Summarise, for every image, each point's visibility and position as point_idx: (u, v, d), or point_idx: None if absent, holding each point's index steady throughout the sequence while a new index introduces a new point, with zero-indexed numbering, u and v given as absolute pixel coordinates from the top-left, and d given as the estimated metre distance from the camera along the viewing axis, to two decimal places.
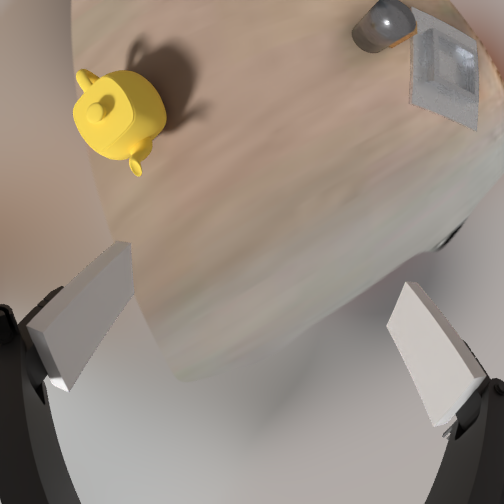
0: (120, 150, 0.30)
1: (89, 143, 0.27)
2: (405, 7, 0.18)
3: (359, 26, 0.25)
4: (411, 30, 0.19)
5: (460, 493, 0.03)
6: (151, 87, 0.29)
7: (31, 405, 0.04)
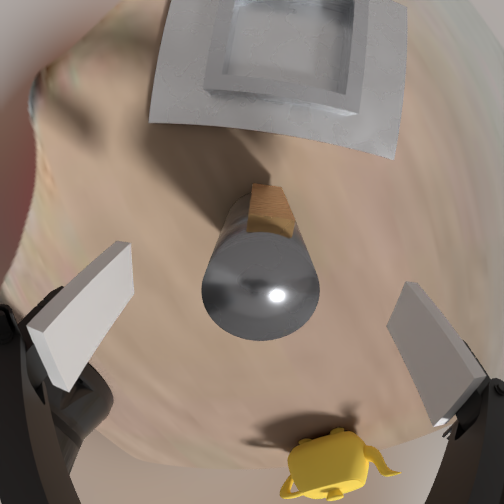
0: (367, 470, 0.28)
1: (352, 490, 0.27)
2: (220, 265, 0.12)
3: None
4: (303, 261, 0.11)
5: (460, 493, 0.03)
6: (316, 452, 0.29)
7: (31, 405, 0.04)
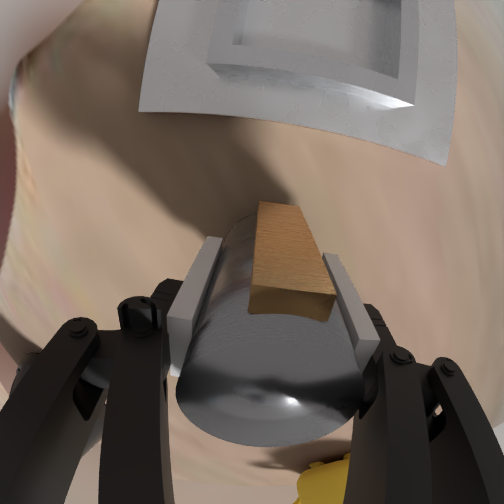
0: None
1: None
2: (202, 372, 0.06)
3: None
4: (346, 367, 0.06)
5: (375, 488, 0.04)
6: (328, 478, 0.25)
7: (162, 407, 0.05)
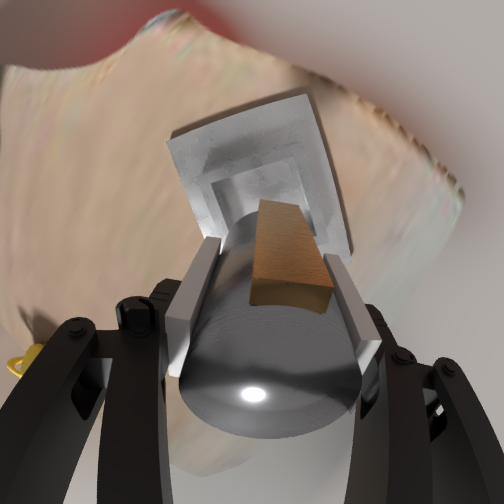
0: None
1: None
2: (205, 362, 0.06)
3: None
4: (343, 356, 0.06)
5: (376, 488, 0.04)
6: None
7: (160, 406, 0.05)
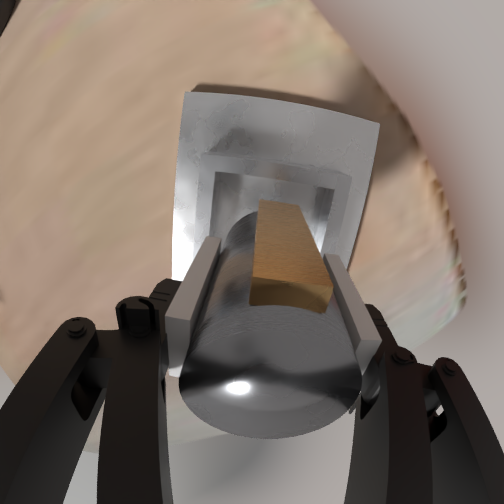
0: None
1: None
2: (205, 362, 0.06)
3: None
4: (343, 356, 0.06)
5: (376, 488, 0.04)
6: None
7: (160, 406, 0.05)
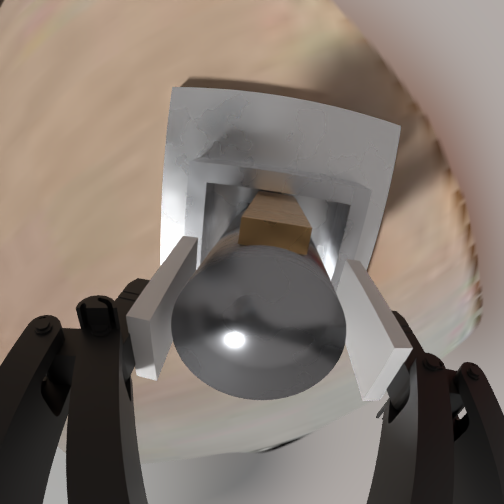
0: None
1: None
2: (196, 293, 0.07)
3: None
4: (323, 290, 0.07)
5: (401, 488, 0.04)
6: None
7: (123, 404, 0.05)
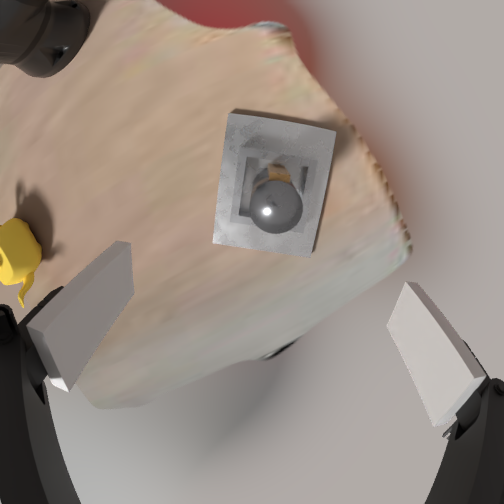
0: (16, 282, 0.38)
1: None
2: (258, 193, 0.26)
3: None
4: (294, 191, 0.26)
5: (460, 493, 0.03)
6: (24, 237, 0.37)
7: (31, 405, 0.04)
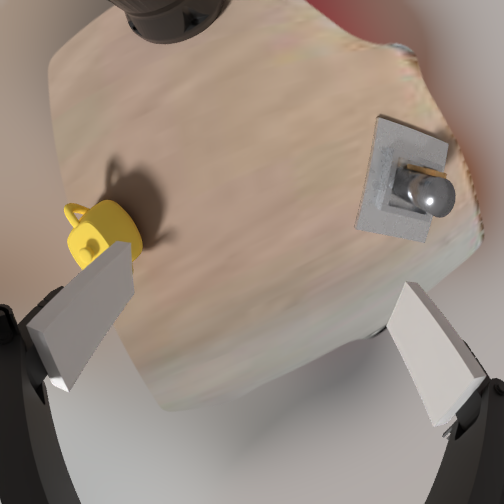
0: None
1: None
2: (432, 186, 0.28)
3: None
4: (451, 185, 0.28)
5: (460, 493, 0.03)
6: (127, 222, 0.40)
7: (31, 405, 0.04)
